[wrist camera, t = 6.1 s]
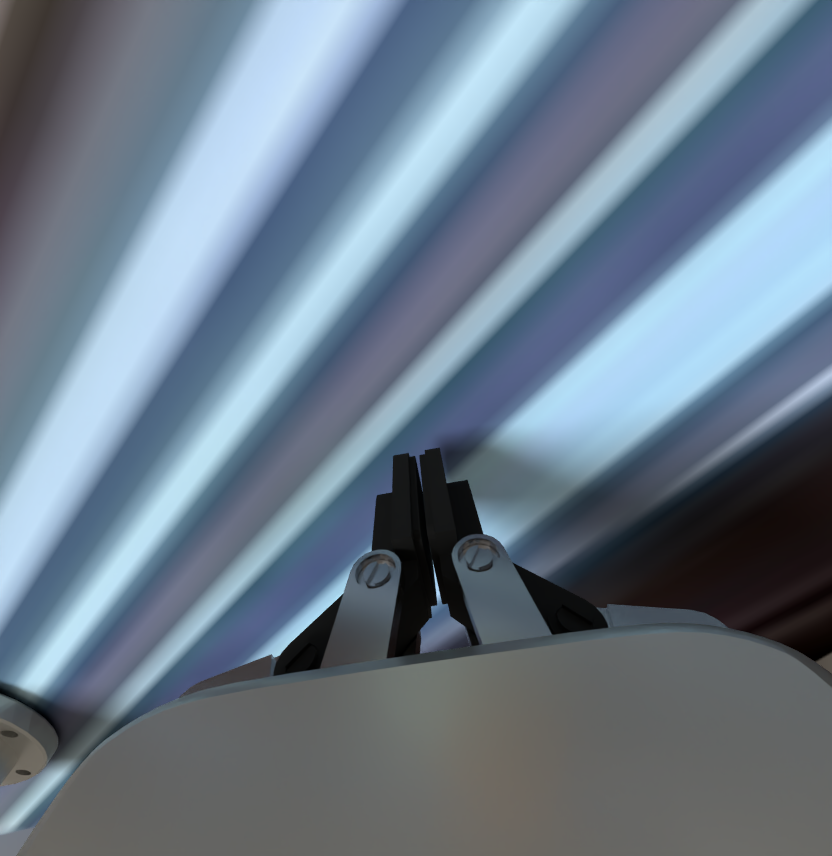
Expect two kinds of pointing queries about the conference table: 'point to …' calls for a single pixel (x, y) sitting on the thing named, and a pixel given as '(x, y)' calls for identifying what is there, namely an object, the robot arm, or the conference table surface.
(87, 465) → the conference table surface
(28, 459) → the conference table surface
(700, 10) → the conference table surface
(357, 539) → the conference table surface
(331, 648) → the robot arm
